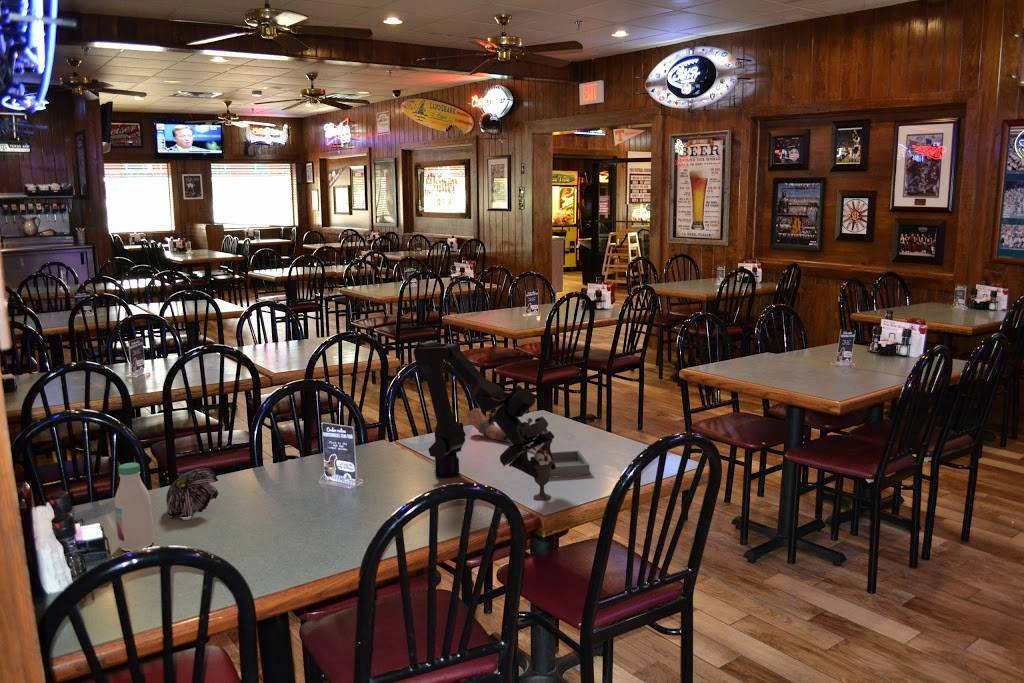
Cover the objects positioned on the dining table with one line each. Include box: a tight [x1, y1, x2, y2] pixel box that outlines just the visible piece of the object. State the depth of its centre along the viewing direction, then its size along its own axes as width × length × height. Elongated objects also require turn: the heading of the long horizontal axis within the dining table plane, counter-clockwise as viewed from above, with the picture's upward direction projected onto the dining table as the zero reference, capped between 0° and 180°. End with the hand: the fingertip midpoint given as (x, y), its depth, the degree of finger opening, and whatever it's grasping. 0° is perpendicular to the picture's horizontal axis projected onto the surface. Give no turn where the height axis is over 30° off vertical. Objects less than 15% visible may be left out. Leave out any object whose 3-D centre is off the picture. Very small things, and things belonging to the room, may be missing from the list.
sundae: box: [529, 442, 554, 502], centre depth 222 cm, size 7×7×15 cm
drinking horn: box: [465, 407, 534, 442], centre depth 274 cm, size 5×29×10 cm, turn 46°
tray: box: [550, 450, 590, 478], centre depth 246 cm, size 14×14×3 cm
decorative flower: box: [165, 467, 219, 518], centre depth 218 cm, size 15×12×15 cm
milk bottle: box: [114, 462, 155, 550], centre depth 195 cm, size 8×8×20 cm
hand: (546, 473), depth 221 cm, fingers open, 8 cm apart
